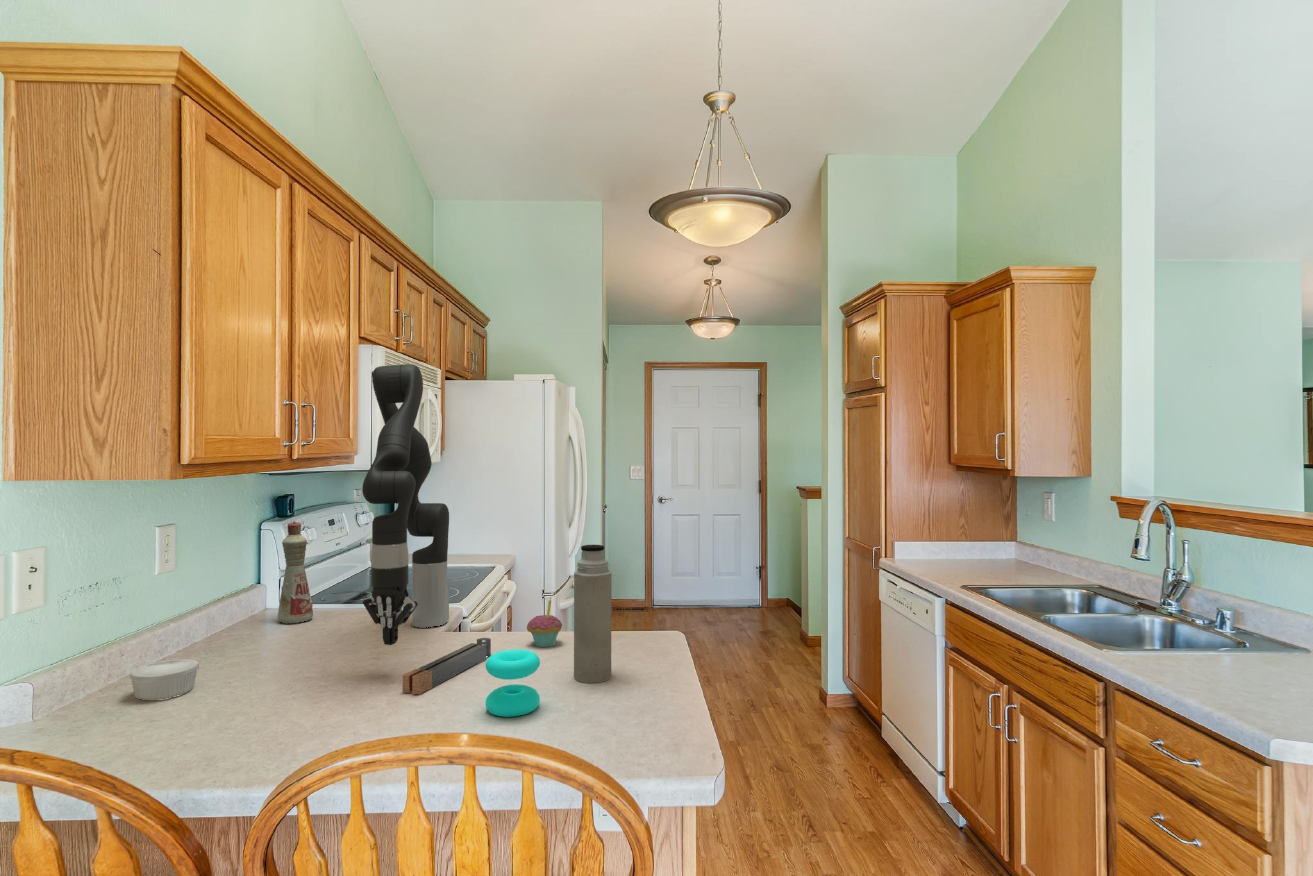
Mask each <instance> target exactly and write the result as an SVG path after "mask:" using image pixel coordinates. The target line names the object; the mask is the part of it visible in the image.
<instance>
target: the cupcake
mask: <svg viewBox="0 0 1313 876" xmlns="http://www.w3.org/2000/svg"><path fill="white" fill-rule="evenodd" d="M551 605H552V596H550V598H549V599H548V603H547V612H546V614H545V615H543V614H541V615H536V616H534V617H533V618H532V619H530V620H529V621H528V623H527V625H526V631H527V632H529V633H531V635H532V638H533V641H534V645H535V646H536V647H540V648H546V647H548V646H549V647H553V646H554V645H555V644H556V641H557V637H558V634H559V632H560V631H561V630H562V627H563V624H562V622H561V620H560V619H559V618H558V617H556V616H554V615H552V614H551V607H552V606H551Z"/></svg>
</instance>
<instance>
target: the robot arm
mask: <svg viewBox="0 0 1313 876" xmlns="http://www.w3.org/2000/svg"><path fill="white" fill-rule="evenodd" d="M371 376H372V377H371V378H372V387H373V392H374V395H375V399H376V402H377V403H378V407H379V411H380V413H381V415H382V420H383V423H384V425H383V427H381V430H380V432H379V434H378V437H377V445H376V452H375V457H374V460H373V461H372V464H371V465H370V467H369V470H368V471H367V473H366V474H365V475H366V476H365V478H364V480H363V483H362V489H361V490H362V496H363V498H364V499H365V500H366V502H368V503H369V504H372V505H384V504H385V505H387V504H389V505H390V504H391V505H392V504H395V505H397V507H396V509H395V510H394V511H393V512H392V511H391V512H389V513H385V514H380V515H377V516H375V517H374V518H373V520H372V525H371V536H372V537H371V538H372V539H371V544H372V545H371V553H370V574H371V575H370V576H371V577H370V585H371V587H372V590H371V596H369V597H368V598H365V599H364V600H363V601H362V605H363V606H364V607H365V609H366V611H367V613H368V614H369V616H370V618H371V619H372V621H373V622H374V624H376V625H380V627H381V628H382V640H383V644H384V645H387V646H392V645H395V644H396V643H397V641H398V640H399V626H400V625H403V624H405V623H407V621H408V620H409V619H410V617H411V626H412V627H414V626H415V627H414V628H418V627H419V629H420V628H421V629H427V628H428V627H431V628H434V627H433V626H438V627H441V626H440V625H442V626H444V625H446V624H447V623H448V621H447V620H448V619H449V620H450V587H449V586H448V552H449V551H448V550H449V531H450V529H449V528H450V512H449V511H450V510H449V508H448V506H447V504H445V503H442V502H441V503H440V502H439V503H438V502H432V503H431V502H426V503H425V502H423V503H422V502H421V501H420V500H419V492H420V490H421V488H422V486H423V484H424V483H425V481H426V479H427V477H428V475H429V473H430V471H431V468H432V457H431V452H430V448H429V443H428V441H427V439H426V438H425V437H424V436H423V434H422V433H421V432H420V431H419V430H418V429H417V428H416V427H415V422H416V420H417V417H418V412H419V410H420V406H421V402H422V397H423V394H424V393H423V391H424V381H423V375H422V372H421V369H420V367H419V366H417V364H413V363H412V364H411V363H410V364H409V363H408V364H406V363H405V364H391V365H380V366H376V367H375V368H374V369H373V371H372V375H371ZM400 403H401V405H400V407H399V408H398V406H397V404H400ZM408 533H409V535H411V536H412V537H421V538H427V537H428V538H429V537H430V538H432V542H431V544H429V545H427V546H426V547H422V548H420V549H419V548H418V549H417V550H414V551H413V552H412V554H411V572H412V573H411V575H412V576H411V585H412V586H411V598H410V597H409V595H410V594H409V592H408V589H407V587H408V584H409V548H408ZM446 622H447V623H446ZM445 623H446V624H445ZM443 624H444V625H443ZM426 627H427V628H426Z"/></svg>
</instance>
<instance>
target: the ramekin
mask: <svg viewBox="0 0 1313 876" xmlns="http://www.w3.org/2000/svg"><path fill="white" fill-rule="evenodd" d="M199 666H200V663H199V661H197V660H195V659H189V658H187V659H183V658H181V659H170V660H162V661H156V662H151V663H147V664H144V665H141V666H138V667H135V668H133V669H132V670H131V671H130V673H129V678H130V679H131V685H132V689H133V694H134V697H135V698H136V699H137V698H138V699H137V700H139V699H142V700H158V699H166V698H170V697H174V696H177V695H181V694H184V693H186V692H188V691H189V692H191V691H192V689H193V688H194V686H195V681H196V677H197V673H198V669H199ZM189 692H188V693H189ZM186 694H187V693H186ZM184 695H185V694H184ZM181 696H182V695H181ZM170 699H171V698H170ZM142 700H141V701H142ZM166 700H167V699H166Z"/></svg>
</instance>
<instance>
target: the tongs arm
mask: <svg viewBox="0 0 1313 876" xmlns="http://www.w3.org/2000/svg"><path fill="white" fill-rule="evenodd" d="M475 646H477V642H474V643H473V642H471V643H469V644H467V645H465V646H461V647H460V648H458V649H455V650H453V651H452V652H450V653H447V654H446V655H443V656H441V657H439V658H437V659H436V660H433V661H430V662H429V663H427V664H425V665H423V666H421V667H418V668H415V669H412V670H410V671H409V672H408V671H407V672H406V673H404V674H402V693H405V694H410V693H412V676H414V675H416V674H418V673H420V672H422V671H424V670H428V669H430V668H432V667H434V666H437V665H439V664H441V663H443V662H445V661H447V660H449V659H451V658H453V657H455V656H457V655H459V654H461V653H463V652H465V651H467V650H469V649H471V648H473V647H475Z"/></svg>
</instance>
